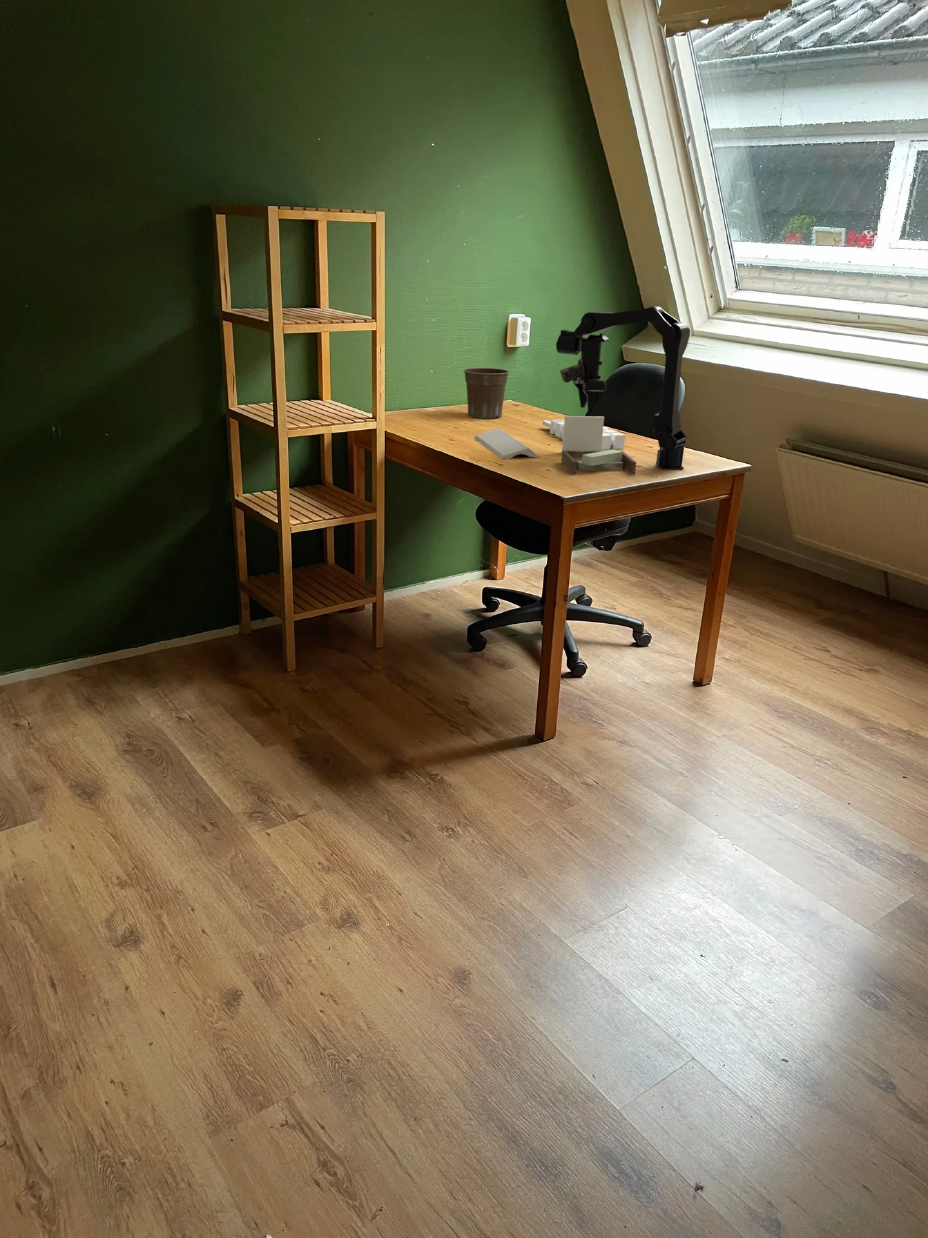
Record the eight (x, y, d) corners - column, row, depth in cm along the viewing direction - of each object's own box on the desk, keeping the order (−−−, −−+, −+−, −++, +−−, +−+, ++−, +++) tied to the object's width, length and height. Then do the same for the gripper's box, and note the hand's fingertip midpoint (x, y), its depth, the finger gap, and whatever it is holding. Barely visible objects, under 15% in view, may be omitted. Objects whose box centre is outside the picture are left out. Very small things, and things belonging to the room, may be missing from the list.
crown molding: (473, 439, 291) (474, 428, 290) (509, 438, 294) (510, 427, 293) (502, 460, 265) (502, 448, 264) (541, 459, 269) (542, 447, 267)
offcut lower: (618, 468, 261) (619, 460, 260) (622, 471, 258) (623, 463, 257) (574, 469, 258) (575, 460, 258) (578, 472, 255) (579, 463, 254)
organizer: (587, 436, 277) (540, 415, 307) (586, 451, 279) (539, 429, 309) (625, 434, 282) (575, 414, 312) (623, 450, 284) (574, 428, 314)
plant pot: (458, 411, 333) (459, 366, 326) (501, 411, 336) (503, 367, 329) (466, 420, 318) (468, 373, 312) (511, 420, 321) (513, 373, 315)
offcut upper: (612, 457, 262) (613, 449, 261) (621, 460, 260) (622, 451, 259) (581, 463, 254) (582, 454, 253) (591, 465, 252) (591, 457, 251)
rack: (621, 462, 266) (622, 450, 264) (635, 474, 253) (636, 462, 252) (561, 462, 264) (562, 450, 262) (572, 474, 251) (573, 461, 249)
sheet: (600, 452, 278) (603, 416, 273) (600, 453, 277) (604, 417, 273) (561, 452, 276) (564, 416, 272) (562, 452, 275) (565, 416, 271)
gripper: (557, 352, 273) (553, 404, 279) (570, 360, 256) (566, 415, 262) (593, 352, 274) (588, 404, 280) (609, 360, 257) (604, 416, 263)
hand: (586, 410), depth 271 cm, fingers open, 9 cm apart
